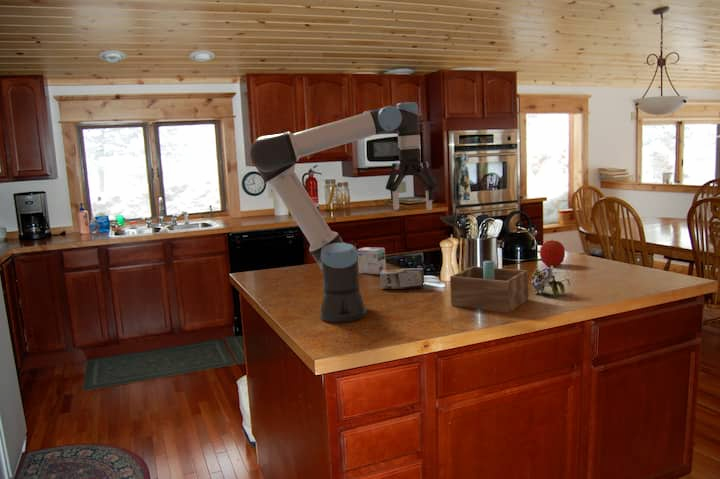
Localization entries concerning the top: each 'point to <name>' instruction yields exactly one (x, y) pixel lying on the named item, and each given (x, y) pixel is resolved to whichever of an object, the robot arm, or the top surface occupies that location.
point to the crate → (489, 289)
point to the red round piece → (552, 253)
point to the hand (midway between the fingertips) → (412, 209)
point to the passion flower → (547, 281)
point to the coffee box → (402, 278)
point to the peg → (488, 270)
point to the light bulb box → (371, 260)
